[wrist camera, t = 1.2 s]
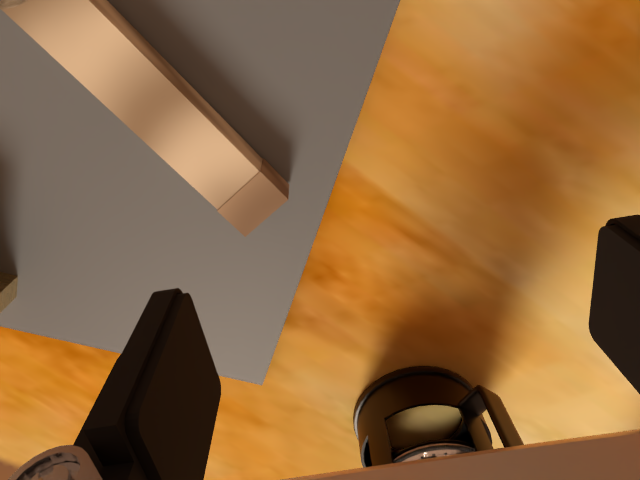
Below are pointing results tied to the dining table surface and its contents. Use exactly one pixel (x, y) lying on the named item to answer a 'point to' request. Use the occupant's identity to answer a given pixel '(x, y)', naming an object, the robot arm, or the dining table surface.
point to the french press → (423, 390)
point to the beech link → (155, 104)
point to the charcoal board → (166, 184)
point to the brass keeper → (7, 289)
